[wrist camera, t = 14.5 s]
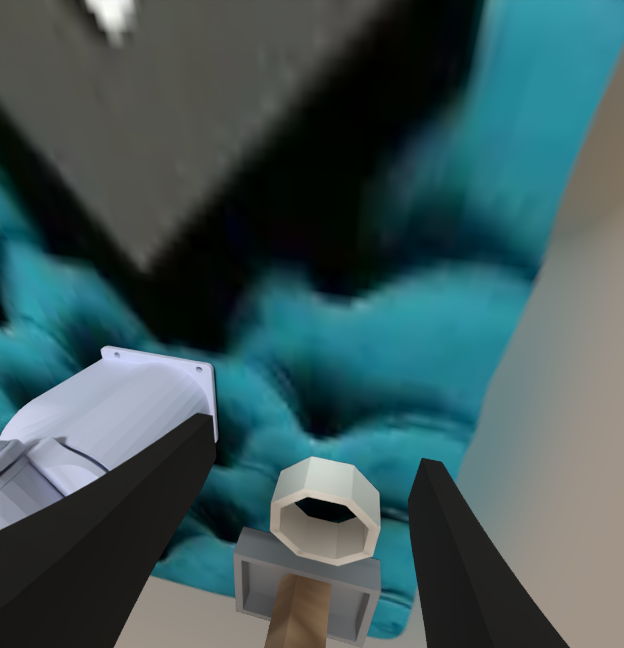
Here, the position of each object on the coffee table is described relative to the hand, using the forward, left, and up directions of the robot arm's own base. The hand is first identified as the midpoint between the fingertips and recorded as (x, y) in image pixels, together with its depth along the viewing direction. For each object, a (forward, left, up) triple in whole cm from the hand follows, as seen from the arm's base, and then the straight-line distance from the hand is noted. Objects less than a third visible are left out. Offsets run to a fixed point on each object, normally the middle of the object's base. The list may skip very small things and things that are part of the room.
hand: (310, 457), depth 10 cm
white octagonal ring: (+1, -16, -10) cm, 19 cm away
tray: (0, -29, -10) cm, 31 cm away
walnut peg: (0, -29, -10) cm, 31 cm away
